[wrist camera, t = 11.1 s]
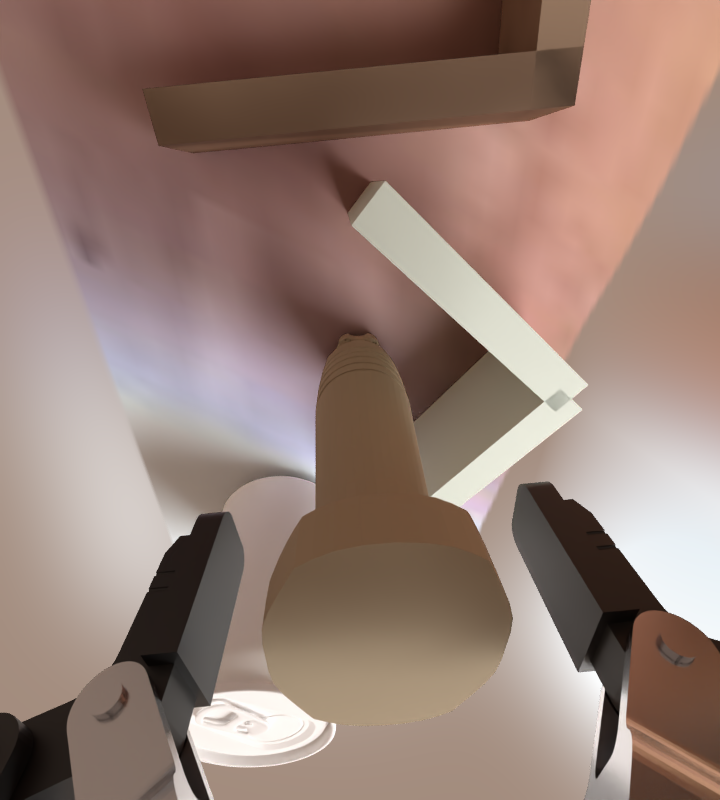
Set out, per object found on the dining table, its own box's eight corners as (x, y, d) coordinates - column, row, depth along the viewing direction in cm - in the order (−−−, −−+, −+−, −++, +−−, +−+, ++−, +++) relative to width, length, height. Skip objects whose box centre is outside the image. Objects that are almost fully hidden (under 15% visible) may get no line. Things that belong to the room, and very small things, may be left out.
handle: (316, 409, 22) (281, 731, 9) (309, 299, 19) (240, 548, 6) (398, 408, 22) (480, 719, 9) (405, 298, 19) (542, 537, 6)
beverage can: (294, 569, 29) (269, 784, 19) (200, 519, 26) (109, 743, 16) (368, 510, 26) (387, 724, 16) (273, 447, 23) (222, 660, 13)
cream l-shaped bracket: (344, 184, 17) (347, 184, 11) (548, 164, 17) (644, 155, 11) (371, 477, 25) (379, 554, 20) (507, 464, 25) (551, 537, 20)
